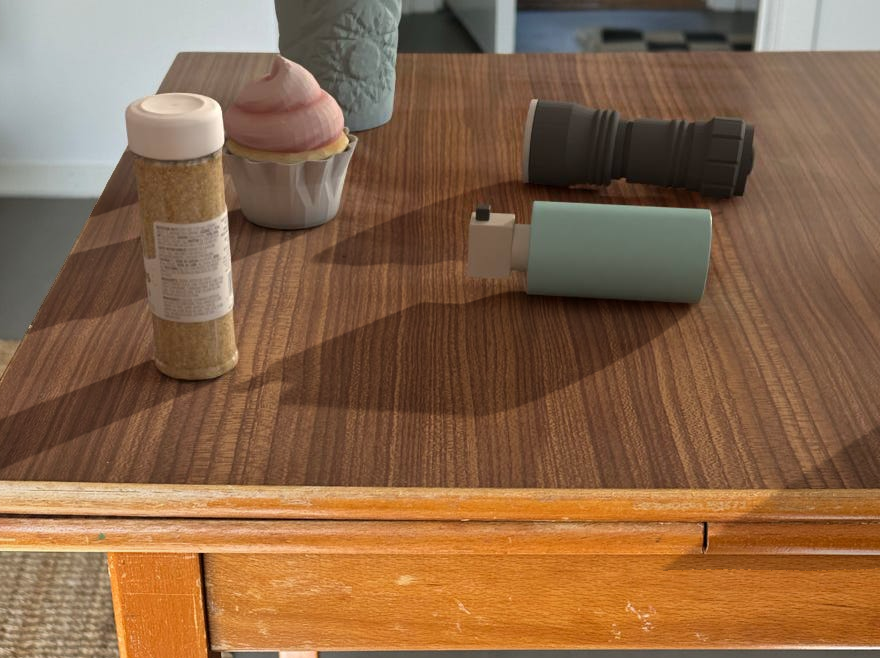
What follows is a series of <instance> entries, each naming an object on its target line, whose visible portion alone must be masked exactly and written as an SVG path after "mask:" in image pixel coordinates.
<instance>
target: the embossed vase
mask: <svg viewBox="0 0 880 658" xmlns="http://www.w3.org/2000/svg"><path fill="white" fill-rule="evenodd" d="M273 1H274V11H275V17H276V21H277V29H278V42H277V43H278V44H277V48H278V50H279V55H280V56H282V57H284V58H286V59H288V60H290V61H292V62H294V63H296V64H299V65H300V66H302V67H303V68H304V69H306V70H307V71H308V72H309V73H311V74H312V76H313V77H314V78H315V80H316V81H317V83H318V84H319V86H320V88H321V89H323V90H324V91H326V92H327V93H328V94H329V95H331V96H332V97H333V98H334V99H335V101H336V102H337V104H338V105H339V107H340V108H341V111H342V114H343V118H344V127H348V128H349V133H351V132H360V131H366V130H371V129H374V128H378V127H381V126H383V125H385V124H386V123H388V122H389V121H391V119H392V116H393V112H394V102H395V91H396V90H395V89H396V80H397V79H396V78H397V75H396V69H395V68H396V65H397V58H398V57H397V56H398V55H397V54H398V52H397V50H398V42H399V24H400V21H401V18H402V9H403V3H402V2H403V1H402V0H273Z"/></svg>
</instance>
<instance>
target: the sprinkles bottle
mask: <svg viewBox="0 0 880 658" xmlns="http://www.w3.org/2000/svg"><path fill="white" fill-rule="evenodd" d="M124 113H125V114H124V117H125V128H126V135H127V136H126V137H127V144H128V145H127V146H128V148H129V150H130V151H131V152H132V153H131V154H132V155H131V156H132V159H133V161H134V171H135V178H136V180H135V181H136V190H137V199H138V210H139V217H140V220H139V221H140V237H141V247H142V255H143V265H144V273H145V280H146V281H145V282H146V283H145V284H146V291H147V301H148V307H149V310H150V313H151V322H152V330H153V340H154V341H153V342H154V347H155V350H154V355H153V358H154V364H155V366H156V368H157V369H158V371H159V372H161V374H164V375H166V376H167V377H170V378H173V379H179V380H188V381H195V380H200V381H202V380H208V379H214V378H217V377H220V376H222V375H225V374H227V373H229V372H230V371H232V370H233V369H234V368H235V367H236V366H237V365H238V361H239V356H240V355H239V350H238V347H237V346H236V337H235V324H234V305H235V299H234V286H233V285H234V284H233V283H234V282H233V272H232V258H231V256H232V255H231V246H230V245H231V244H230V233H229V232H230V231H229V218H228V207H227V204H226V195H225V181H224V170H223V159H222V146H223V144H224V128H223V111H222V107H221V105H220V104H219V103H218V101H216V100H215V99H214V98H211V97H209V96H206V95H201V94H198V93H197V94H196V93H190V92H165V93H159V94H152V95H147V96H144V97H140V98H138V99H135V100H134V101H132V102H131V103H130V104H128V105H127V107H126V109H125V111H124Z"/></svg>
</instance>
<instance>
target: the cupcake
mask: <svg viewBox="0 0 880 658" xmlns="http://www.w3.org/2000/svg"><path fill="white" fill-rule="evenodd" d="M222 119H223V129H224V144H223V146H222V162H224V164H225V165H226V167H227V169H228V170H229V175H230V177H231V180H232V183H233V186H234V189H235V192H236V195H237V199H238V201H239V202H238V203H239V206H240V208H241V212H242V214H243V215H244V217H245V219H247V220H248V221H249V222H250V223H253V224H255V225H257V226H261V227H265V228H269V229H277V230H298V229H308V228H312V227H316V226H320V225H323V224H327V222H329V221H331V220H333V218H335V216H337V213H338V211H339V208H340V204H341V203H340V202H341V199H342V193H343V188H344V184H345V180H346V175H347V172H348V168H349V163H350V161H351V159H352V156H353V154H354V150H355V149H356V146H357V144H358V141H359V138H358V137H357V136H356V135H353V134H350V132H349V128H348V127H344V118H343V114H342V111H341V108H340V107H339V105H338V104H337V102H336V101H335V99H334V98H333V97H332V96H331V95H329V94H328V93H327V92H326V91H324V90H323V89H321V88H320V86H319V84H318V83H317V81H316V80H315V78H314V77H313V76H312V74H311V73H309V72H308V71H307V70H306V69H304V68H303V67H302V66H300V65H299V64H296V63H294V62H292V61H290V60H288V59H286V58H284V57H282V56H281V54H276V56H275V58H274V60H273V62H272V65H271V70H270V73H268V74H267V73H266V74H263V75H260V76H258V77H256V78H253V79H252V80H250V81H249V82H248V83H247V84H246V85H245V86H244V87H243V88H242V90H241V91H240V92H239V93H238V96H237V97H236V100H235V101H234V102H232V104H231V105H230V106H229V107H228V108H227V109H226V111H225V112H224V114H223V117H222Z"/></svg>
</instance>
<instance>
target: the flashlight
mask: <svg viewBox="0 0 880 658" xmlns="http://www.w3.org/2000/svg"><path fill="white" fill-rule="evenodd" d="M755 129H756V125H755V124H753V123H746V121H745V120H744V119H743V118H739V117H729V116H717V115H716V116H713V117H712V118H711V119H710V120H705V119H695V121H694V122H693V121H688V120H687V119H684V118H683V119H682V120H680V119H678V118H674V119H659V118H646V117H645V118H644V117H634V118H633V121H630V119H629V118H625V117H624V118H622V117H621V112H620V111H619V109H614V110H611V109H610V108H607V109H606V110H604V109H603V108H598V109H594V108H591V107H589V106H586V105H582V104H580V103H577V102H570V101H559V100H546V99H535V98H534V99H533V98H532V99H531V101H530V104H529V107H528V111H527V116H526V122H525V128H524V136H523V146H522V158H521V159H522V160H521V179H522V183H524V184H534V185H543V186H544V185H546V186H556V187H571V186H577V185H582V184H583V185H584V184H588V185H589V186H594V185H596V186H597V187H601V186H602V185H603V187H604V188H608V187H610V186H611V185H612V182H613V181H621V179H625V183H626V184H635V185H645V186H656V187H662V188H663V189H665V190H668V189H670V188H671V189H672V190H677V189H684V192H688V193H697V194H699V195H700V197H701V198H703V199H713V200H725V201H730V200H731V199H732V198H734V197H740V198H741V197H744V195H745V194H744V193H745V190H746V185H747V180H748V176H750V175H751V173H752V171H753V168H754V164H755V163H754V162H755V159H756V149H755V147H754V146H753V145H754V136H755ZM612 180H613V181H612Z"/></svg>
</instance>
